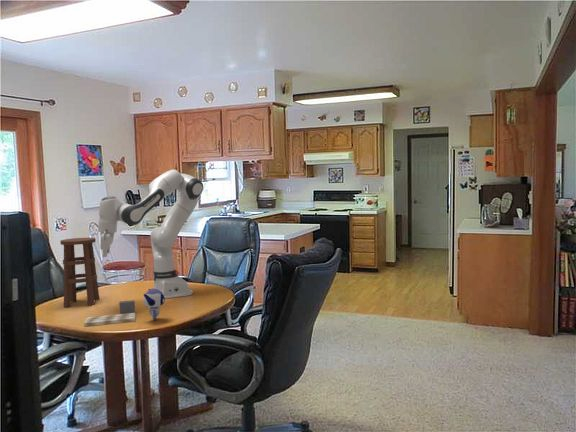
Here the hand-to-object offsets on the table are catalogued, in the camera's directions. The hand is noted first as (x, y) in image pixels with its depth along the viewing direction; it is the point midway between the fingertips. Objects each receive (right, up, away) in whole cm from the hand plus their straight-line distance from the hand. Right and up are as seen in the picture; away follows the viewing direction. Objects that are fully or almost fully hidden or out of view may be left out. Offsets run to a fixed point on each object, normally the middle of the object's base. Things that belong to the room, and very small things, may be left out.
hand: (106, 255), depth 245 cm
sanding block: (+14, -28, -8) cm, 32 cm away
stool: (-19, -28, +15) cm, 37 cm away
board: (+10, -29, -20) cm, 37 cm away
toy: (+31, -29, -22) cm, 48 cm away
